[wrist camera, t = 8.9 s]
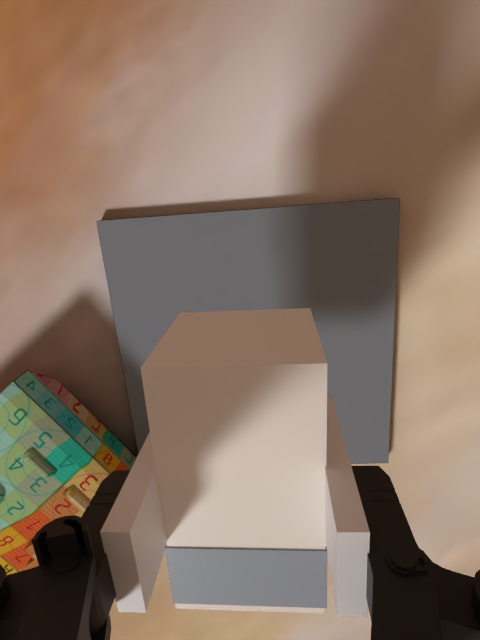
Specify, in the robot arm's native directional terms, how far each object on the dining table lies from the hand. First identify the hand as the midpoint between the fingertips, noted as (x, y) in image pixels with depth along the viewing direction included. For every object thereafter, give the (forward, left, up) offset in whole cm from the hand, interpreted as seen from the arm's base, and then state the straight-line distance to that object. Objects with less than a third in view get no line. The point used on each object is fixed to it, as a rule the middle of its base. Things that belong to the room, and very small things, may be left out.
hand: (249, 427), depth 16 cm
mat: (0, 0, -9) cm, 9 cm away
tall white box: (0, 0, -1) cm, 1 cm away
